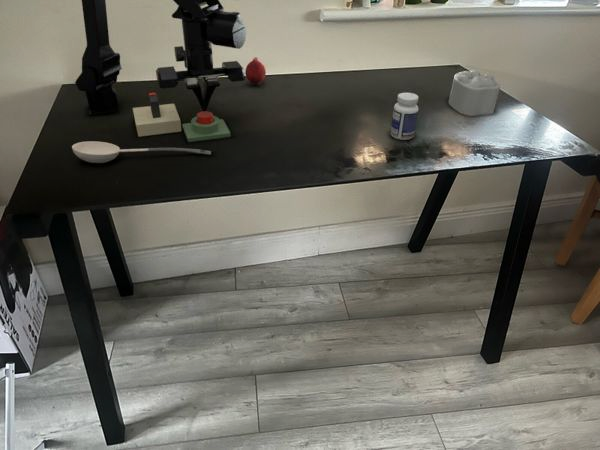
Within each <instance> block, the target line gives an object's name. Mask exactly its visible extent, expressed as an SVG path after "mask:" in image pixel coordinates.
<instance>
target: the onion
mask: <svg viewBox="0 0 600 450" xmlns="http://www.w3.org/2000/svg"><path fill="white" fill-rule="evenodd" d="M244 72H245V78H246V79H247V81H248V82H249V83H251V84H252V85H253V86H258V85H259V84H261V83H262V82H263V81H264V80H265V78H266V72H267V71H266V68H265V65H264V64H263V63H262V62H261V61H259V60H258V57H257V56H254V57H253V59H252V60H251V61H250V62H249V63H247V64H246V67H245V69H244Z"/></svg>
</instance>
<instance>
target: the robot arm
mask: <svg viewBox="0 0 600 450" xmlns="http://www.w3.org/2000/svg"><path fill="white" fill-rule="evenodd" d="M172 1H173V2H174V3H175V4H176V5H177V8H176V10H175V11H174V12H173V13H172V14H171V18H172V19H178V20H181V25H182V26H181V27H182V35H183V45H184V46H183V45H181V46H174V47H173V49H174V56H175V61H176V62H177V63H178V62H183V63H184V67H185V69H186V70H177V71H176V69H175V66H174V65H173V66H163V67H157V68H156V70H155V74H156V75H155V76H156V81H157V84H158V87H159V88H160V89H173V88H176V86H178V85H179V81H183V83H184V86H185V87H186V89H187V90H188V91H189V90H190V91H192V92H193V93H194V95H195V97H196V99H197V101H198V104H199V106H200V109H201V112H203V111H208V107H209V104H210V102H211V99H212V96H213V95H214V92H215V90H216V89H217V88H219V87H221V83H220V81H219V79H220V78H221V77H227V79H228V80H229V81H230V82H232V83H234V82H244V81H245V80H246V74H245V69H244V67H243V66H242V64H241V63H240V62H238V60H231V61H222V62H221V67H214V58H213V46H212V45H214V46H219V47H225V48H231V49H237V50H239V49H242V48H243V46H244V45H245V41H246V38H247V27H246V26H245V23H244V20H243V19H242V18H241V13H240V12H238V11H224V10H225V7H224V6H223V5H222V3H221V2H220V0H172ZM205 5H207V6H205ZM202 6H204V7H202ZM81 7H82V15H83V16H82V17H83V23H84V31H85V39H86V47H85V49H84V52H83V55H82V56H81V73H79V75H78V77H77V78H76V79H75V82H74V83H75V85H76V87H77V90H79V92H80V91H81V92H85V97H86V99H87V104H88V108H89V115H90V116H99V115H109V114H117V113H118V108H119V102H118V97H117V92H116V88H113V84H115V83H117V82H118V76H119V75H120V71H121V70H122V65H121V55H120V53H119V52H115V51H114V50H113V48H112V46H111V44H110V35H109V33H110V32H109V24H108V14H107V13H108V12H107V2H106V0H81ZM199 79H201V80H202V86H201V84H200V83H199Z"/></svg>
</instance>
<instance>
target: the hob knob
mask: <svg viewBox="0 0 600 450" xmlns="http://www.w3.org/2000/svg"><path fill="white" fill-rule="evenodd" d="M147 95H148V100H149V106H150V107H151V112H152V116H153V118H159V117H161V114H160V108H159V105H160V103H159V102H160V101H159V98H158V94H157V93H156V92H149V93H148V94H147Z"/></svg>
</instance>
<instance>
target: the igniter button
mask: <svg viewBox="0 0 600 450" xmlns="http://www.w3.org/2000/svg"><path fill="white" fill-rule="evenodd" d="M213 115H214V114H213V112H211V111H208V110H206V111H200V112H197V114H196V116H197V121H198V123H199V124H204V125H205V124H210V123H213Z"/></svg>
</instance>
